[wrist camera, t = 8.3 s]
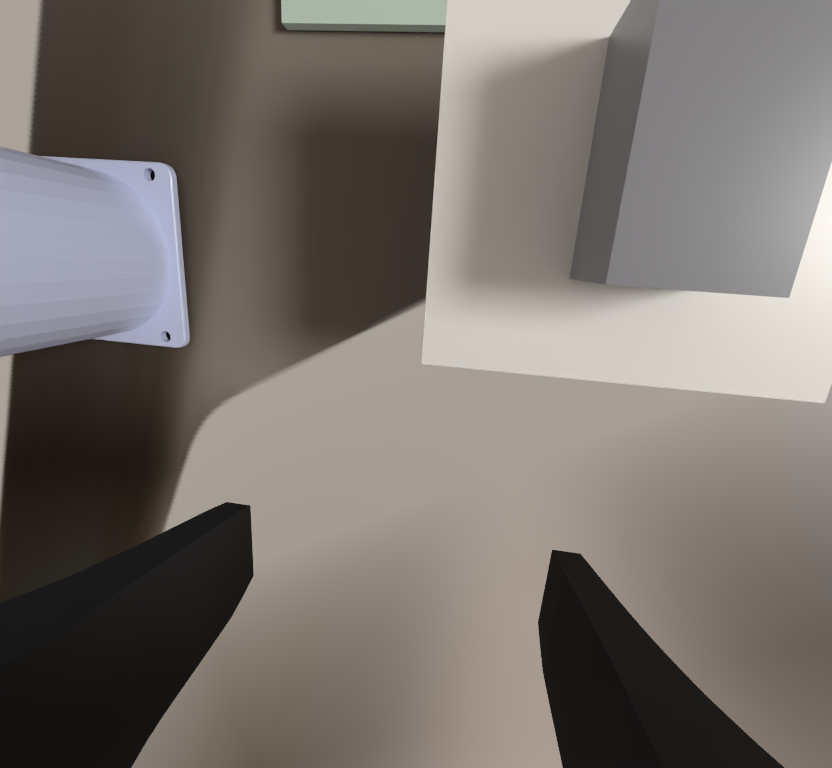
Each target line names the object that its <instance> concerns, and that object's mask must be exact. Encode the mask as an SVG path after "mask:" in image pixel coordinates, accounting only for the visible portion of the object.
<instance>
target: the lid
mask: <svg viewBox="0 0 832 768" xmlns="http://www.w3.org/2000/svg"><path fill="white" fill-rule="evenodd" d="M421 364H426V365H436V366H447V367H457V368H467V369H478V370H488V371H498V372H508V373H519V374H529V375H539V376H550V377H560V378H570V379H582V380H591V381H601V382H612V383H622V384H633V385H643V386H653V387H664V388H674V389H684V390H694V391H705V392H716V393H725V394H735V395H747V396H756V397H766V398H777V399H787V400H798V401H809V402H818V403H825V401H826V398H827V395H828V392H829V390H830V387H831V384H832V0H447V13H446V27H445V41H444V55H443V69H442V83H441V97H440V110H439V124H438V138H437V152H436V166H435V180H434V194H433V208H432V221H431V235H430V249H429V263H428V277H427V291H426V305H425V320H424V333H423V346H422V361H421Z"/></svg>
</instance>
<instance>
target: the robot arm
mask: <svg viewBox="0 0 832 768" xmlns="http://www.w3.org/2000/svg"><path fill="white" fill-rule="evenodd" d="M152 170H153V171H154V173H155V178H154V180H153V181H152V180H151V177H150V174H151V172H152ZM166 332H168V333H169V334H170V337H171V338H170V340H169V339H168V338H167V336H166ZM88 339H98V340H107V341H117V342H126V343H136V344H145V345H155V346H165V347H174V348H179V347H184V346H186V345H187V344H188V343H189V339H190V335H189V323H188V311H187V299H186V287H185V275H184V263H183V251H182V239H181V226H180V214H179V202H178V190H177V178H176V174H175V171H174V170H173V168H172V167H170V166H169V165H166V164H163V163H159V162H140V161H121V160H103V159H84V158H65V157H46V156H36V155H32V154H28V153H24V152H20V151H16V150H12V149H8V148H3V147H0V357H1V356H6V355H11V354H16V353H21V352H27V351H32V350H37V349H42V348H47V347H52V346H57V345H62V344H67V343H72V342H77V341H82V340H88ZM252 577H253V555H252V534H251V512H250V506H249V505H242V504H235V503H228V502H226V503H224V504H222V505H220V506H217V507H215V508H212V509H210V510H208V511H206V512H204V513H202V514H200V515H198V516H196V517H194V518H192V519H190V520H188V521H186V522H184V523H182V524H180V525H178V526H175V527H173V528H171V529H170V530H167V531H165V532H163V533H161V534H159V535H157V536H155V537H153V538H151V539H149V540H147V541H145V542H143V543H141V544H139V545H137V546H135V547H133V548H130V549H128V550H126V551H124V552H122V553H120V554H117V555H115V556H113V557H111V558H109V559H106V560H104V561H102V562H100V563H98V564H95V565H93V566H91V567H89V568H87V569H84V570H82V571H80V572H78V573H75V574H73V575H71V576H68V577H66V578H63V579H61V580H59V581H56V582H54V583H51V584H49V585H46V586H44V587H41V588H38V589H36V590H33V591H31V592H28V593H25V594H23V595H20V596H18V597H15V598H12V599H10V600H7V601H4V602H1V603H0V768H131V767H132V765H133V763H134V762H135V760H136V758H137V757H138V755H139V753H140V752H141V750H142V748H143V746H144V745H145V743H146V741H147V739H148V738H149V736H150V735H151V733H152V732H153V730H154V729H155V727H156V726H157V724H158V723H159V721H160V720H161V718H162V717H163V715H164V714H165V712H166V711H167V709H168V708H169V706H170V705H171V703H172V702H173V701H174V699H175V698H176V696H177V695H178V693H179V692H180V691H181V689H182V688H183V686H184V685H185V683H186V682H187V681H188V679H189V677H190V676H191V675H192V673H193V672H194V671H195V669H196V668H197V666H198V665H199V663H200V662H201V660H202V659H203V658H204V656H205V655H206V653H207V652H208V650H209V649H210V648H211V646H212V645H213V643H214V642H215V640H216V639H217V637H218V636H219V634H220V633H221V631H222V630H223V629H224V627H225V626H226V624H227V623H228V621H229V620H230V618H231V617H232V615H233V613H234V611H235V609H236V608H237V606H238V604H239V602H240V600H241V599H242V597H243V595H244V593H245V591H246V589H247V587H248V585H249V583H250V581H251V579H252ZM538 625H539V637H540V648H541V657H542V667H543V674H544V679H545V683H546V689H547V694H548V699H549V704H550V708H551V713H552V718H553V723H554V728H555V732H556V737H557V741H558V747H559V751H560V756H561V761H562V765H563V768H784V767H783V766H782V765H781V764H779V763H778V762H777V761H776V760H775V759H774V758H773V757H771V756H770V755H769V754H768V753H767V752H766V751H765V750H764V749H763V748H761V747H760V746H759V745H758V744H757V743H756V742H755V741H754V740H753V739H751V738H750V737H749V736H748V735H747V734H746V733H745V732H744V731H743V730H742V729H741V728H740V727H739V726H738V725H737V724H735V723H734V722H733V721H732V720H731V719H730V718H729V717H728V716H727V715H726V714H725V713H724V712H723V711H722V710H721V709H720V708H718V707H717V706H716V705H715V704H714V703H713V702H712V701H711V700H710V699H709V698H708V697H707V696H706V695H705V694H704V693H703V692H702V691H701V690H700V689H699V688H698V687H697V686H696V685H695V684H694V683H693V682H692V681H691V680H690V679H689V678H688V677H687V676H686V675H685V674H684V673H683V672H682V670H680V668H679V667H678V666H677V665H676V664H675V663H674V662H673V661H672V660H671V659H670V658H669V657H668V656H667V655H666V654H665V653H664V652H663V650H662V649H661V648H660V647H659V646H658V645H657V644H656V643H655V642H654V641H653V640H652V638H651V637H650V636H649V635H648V634H647V633H646V632H645V631H644V629H642V627H641V626H640V625H639V624H638V623H637V622H636V620H635V619H634V618H633V617H632V616H631V615H630V613H629V612H628V611H627V610H626V609H625V607H624V606H623V605H622V604H621V603H620V602H619V601H618V599H617V598H616V597H615V595H614V594H613V593H612V592H611V591H610V590H609V588H608V587H607V586H606V585H605V584H604V582H603V581H602V580H601V578H600V577H599V576H598V575H597V574H596V572H595V571H594V570H593V569H592V568H591V566H590V565H589V564H588V563H587V561H586V560H585V559H584V558H583V557H582V556H581V554H578V553H570V552H564V551H557V550H552V554H551V559H550V564H549V570H548V574H547V580H546V585H545V590H544V595H543V601H542V605H541V611H540V616H539V621H538Z"/></svg>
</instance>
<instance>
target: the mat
mask: <svg viewBox="0 0 832 768" xmlns="http://www.w3.org/2000/svg"><path fill="white" fill-rule="evenodd" d="M446 13H447V0H281V15H282V24H283V25H284V27H285V28H286V29H287V30H322V31H389V32H445V27H446Z"/></svg>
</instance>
